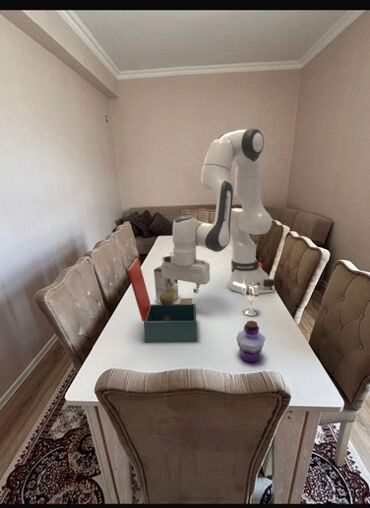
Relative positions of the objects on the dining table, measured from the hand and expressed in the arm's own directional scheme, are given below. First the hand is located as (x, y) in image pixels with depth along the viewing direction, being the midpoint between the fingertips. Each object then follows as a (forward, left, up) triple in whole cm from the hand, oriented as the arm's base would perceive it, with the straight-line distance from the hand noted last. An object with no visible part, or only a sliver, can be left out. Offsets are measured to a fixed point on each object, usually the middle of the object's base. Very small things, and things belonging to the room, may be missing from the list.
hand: (185, 290), depth 101 cm
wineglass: (-26, +2, -10) cm, 28 cm away
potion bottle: (-20, +28, -10) cm, 36 cm away
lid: (+15, +14, +8) cm, 22 cm away
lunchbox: (+5, +14, -10) cm, 18 cm away
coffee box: (+9, -11, -10) cm, 17 cm away
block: (0, 0, -10) cm, 10 cm away
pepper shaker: (+7, +6, -10) cm, 13 cm away
